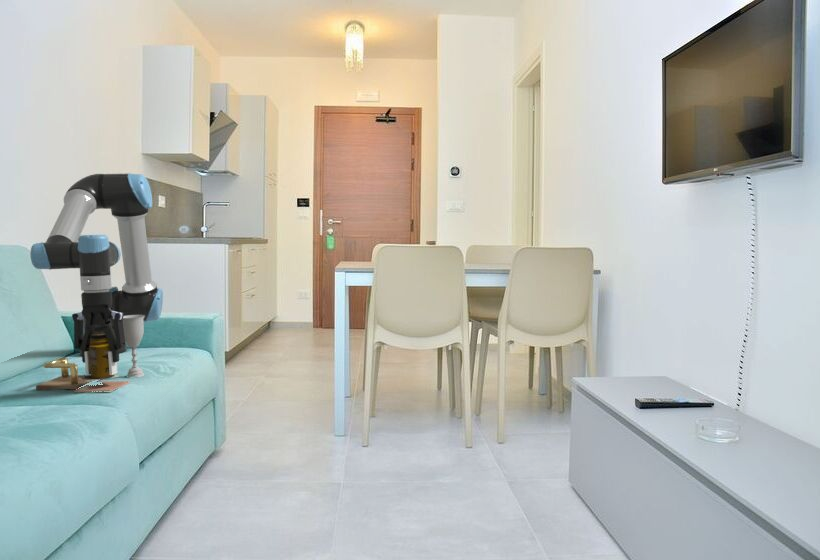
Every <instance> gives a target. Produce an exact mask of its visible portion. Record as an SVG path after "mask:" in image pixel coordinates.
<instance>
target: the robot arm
mask: <svg viewBox="0 0 820 560" xmlns="http://www.w3.org/2000/svg"><path fill="white" fill-rule="evenodd" d="M152 207H153V195H152V189H151V186H150V183H149V181H148V179H147V177H145V175H143V174H138V173H130V172H129V173H95V174H89V175H86V176H85V177H82V178H81V179H79V180H78V181H76V182H74V183H73V184H72V185H71V186H70V187H69V188H68V189H67V191H66V192H65V194H64V196H63V205H62V209H61V210H60V213H59V215H58V216H57V219H56V221H55V222H54V225H53V227H52V229H51V231H50V233H49V235H48V237H47V239H46V241H45V242H43V241H41V242H36V243H34V244H32V246H31V247H30V261H31V265H32V266H33V267H34V268H35V269H36V270H51V271H52V270H62V269H63V270H64V269H79V275H80V276H79V277H80V278H79V279H80V290H81V292H82V293H81V296H80V297H81V307H82V310H81V312H77V313H75V312H74V313H72V314H71V316H72V317H71V318H72V320H73V322H74V323H73V347H74V349H75V350H79V354H80V356H81V358H82V360H81V361H82V363H84V366H85V375H91V371H90V355H89V345H90V336H91V335H92V334H98V333H105V336H106V338H107V341H108V344H109V346H110V349H111V350H109V352H108V359H109V375H113V374H116V375H117V374H118V362H120V354H121V353H124V352H126V351H127V343H126V341H125V335H124V328H123V316H128V315H145V317H144V319H143V323H144V322H146V323H147V322H153V321H157V320H159V319H160V318H161V313H162V309H163V300H164V299H163V298H164V293H163V289H162V288H158V284H157V283H156V281H154V280H153V279H152V273H151V272H152V271H151V264H150V263H151V262H150V256H149V255H150V254H149V247H148V246H149V245H148V238H147V231H146V219H145V217H147V215H148V214H149V210H150V209H151V208H152ZM101 209H102V210H103V209H107V210H108V209H109V210H110V211H111V216H112V217H114V218H115V219H117V221H116V222H117V228H118V233H119V235H118V236H119V242H120V243H119V244H120V248H121V250H120V248H119V246H118V245H117V244H116V243H114V242H112V241H109V236H108V235H106V234H83V235H82V232H83V230H84V228H85V225H86V223H87V220H88V218H89V216H90V215H91V214H93V213H94V212H95V210H101ZM121 256H122V263H123V271H124V280H125V283H124V284H123V286H121V290H119V288H118V287H117V286H112V275H111V267H114V266H115V265H116V264H117V263H118V262H119V261H120V259H121Z"/></svg>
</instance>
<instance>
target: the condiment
mask: <svg viewBox="0 0 820 560" xmlns="http://www.w3.org/2000/svg"><path fill="white" fill-rule="evenodd" d="M109 350H111V349H110V346H109V344H108V341H107V338H106V336H105V333H98V334H92V335H91V336H90V345H89V355H90V371H91V374H90V375H88V376H80V378H81V379H83V380H85V381H87V382H88V381H94V380H99V379H102V380H106V379H113V378H118V377H120V375H118V374H117V373H116V374H113V375H109V359H108V352H109ZM99 381H100V380H99Z"/></svg>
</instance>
